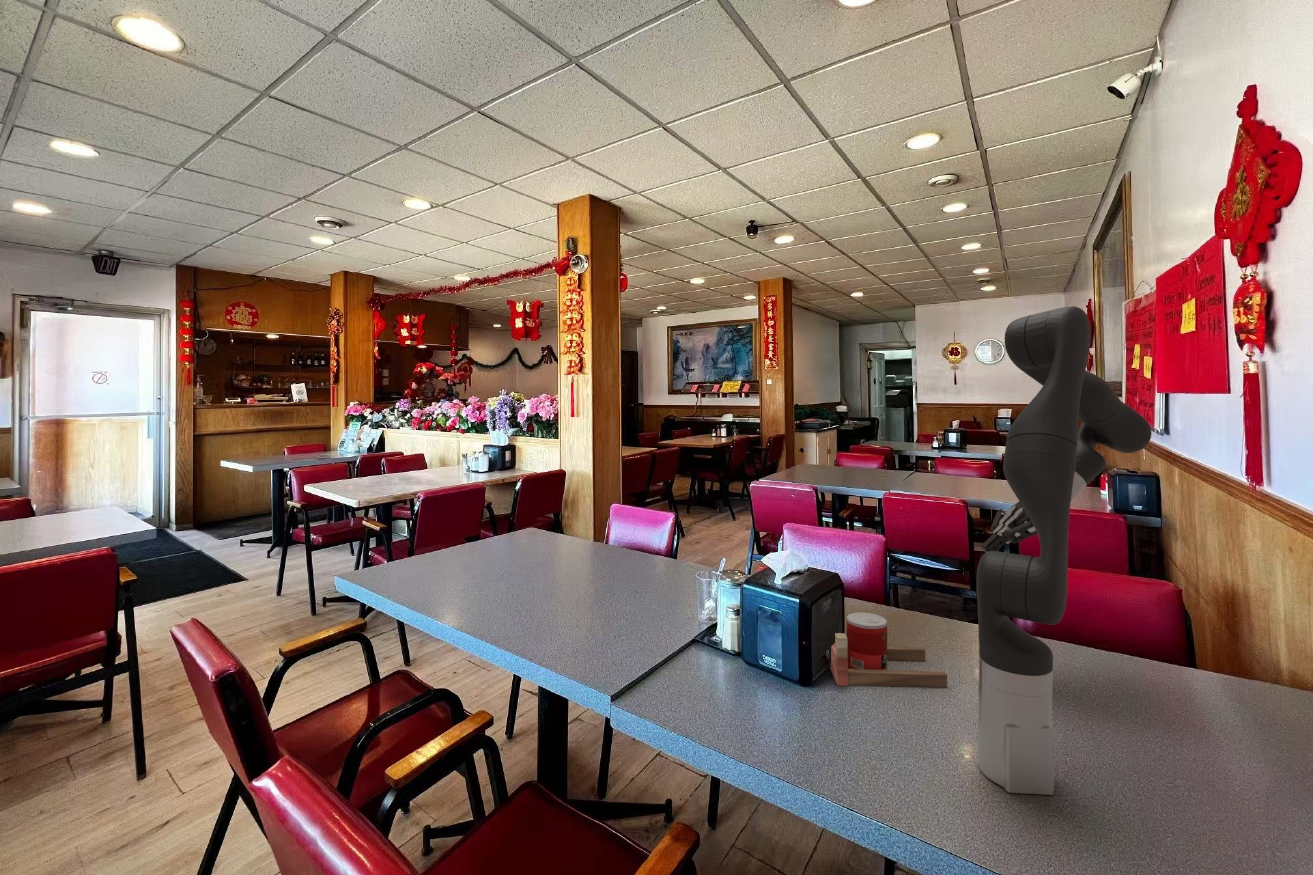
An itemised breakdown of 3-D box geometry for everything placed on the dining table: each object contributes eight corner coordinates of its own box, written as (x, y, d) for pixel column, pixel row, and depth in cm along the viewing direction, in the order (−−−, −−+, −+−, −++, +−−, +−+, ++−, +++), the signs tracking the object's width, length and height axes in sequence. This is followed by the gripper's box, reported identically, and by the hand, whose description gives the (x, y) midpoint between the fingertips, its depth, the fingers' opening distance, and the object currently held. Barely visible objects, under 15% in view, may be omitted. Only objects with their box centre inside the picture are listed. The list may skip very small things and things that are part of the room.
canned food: (891, 679, 113) (891, 626, 112) (850, 677, 114) (850, 624, 114) (882, 662, 120) (882, 612, 120) (843, 660, 122) (843, 611, 121)
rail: (948, 688, 109) (948, 641, 108) (837, 685, 111) (837, 638, 110) (921, 656, 123) (921, 614, 122) (824, 654, 125) (823, 612, 124)
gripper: (1018, 472, 116) (957, 531, 118) (1058, 481, 103) (988, 546, 105) (1045, 497, 116) (983, 555, 118) (1088, 509, 103) (1017, 574, 105)
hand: (985, 551), depth 111 cm, fingers closed
